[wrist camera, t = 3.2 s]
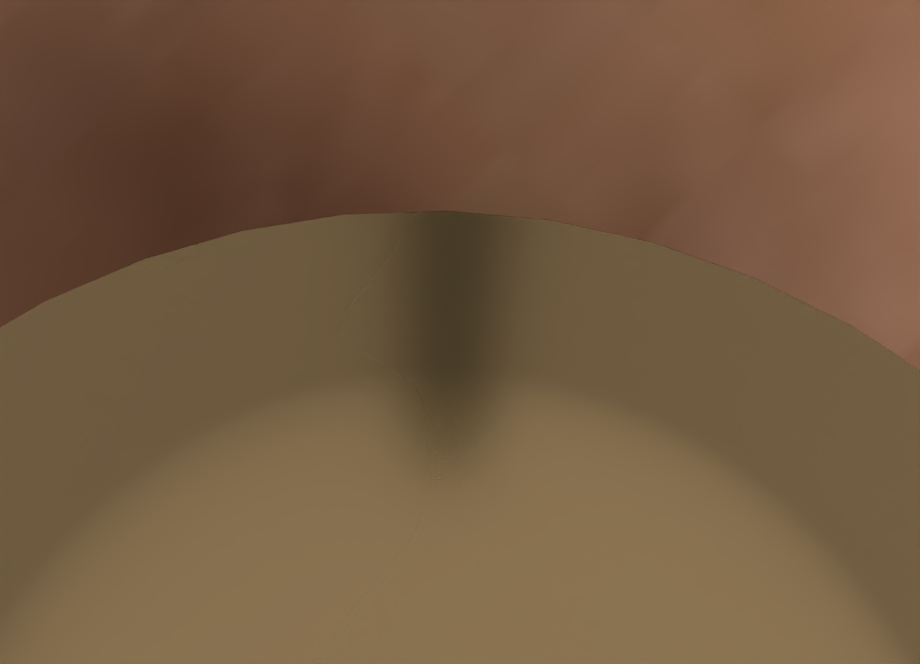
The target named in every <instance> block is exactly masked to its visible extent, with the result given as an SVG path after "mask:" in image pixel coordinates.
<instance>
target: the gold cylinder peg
mask: <svg viewBox="0 0 920 664" xmlns="http://www.w3.org/2000/svg"><path fill="white" fill-rule="evenodd" d="M0 664H920V370H919V369H918V368H916V367H915V366H913V365H911V364H910V363H908V362H907V361H905V360H904V359H902V358H901V357H899V356H898V355H896V354H894V353H893V352H891V351H890V350H888V349H887V348H885V347H884V346H882V345H881V344H879V343H878V342H876V341H874V340H873V339H871V338H870V337H868V336H867V335H865V334H864V333H862V332H861V331H859V330H857V329H856V328H854V327H853V326H851V325H849V324H847V323H845V322H843V321H841V320H839V319H837V318H835V317H833V316H831V315H829V314H826V313H824V312H822V311H820V310H818V309H816V308H814V307H812V306H810V305H808V304H806V303H804V302H802V301H800V300H798V299H796V298H794V297H792V296H790V295H788V294H786V293H784V292H782V291H780V290H778V289H776V288H774V287H772V286H769V285H767V284H765V283H763V282H761V281H759V280H757V279H755V278H753V277H750V276H747V275H744V274H742V273H739V272H736V271H733V270H730V269H727V268H724V267H722V266H719V265H716V264H713V263H710V262H707V261H704V260H701V259H699V258H696V257H693V256H690V255H687V254H684V253H681V252H679V251H676V250H673V249H670V248H667V247H664V246H661V245H658V244H656V243H653V242H649V241H644V240H639V239H635V238H630V237H625V236H621V235H616V234H611V233H607V232H602V231H598V230H593V229H588V228H584V227H579V226H574V225H570V224H565V223H561V222H556V221H551V220H543V219H531V218H520V217H509V216H498V215H487V214H475V213H464V212H453V211H430V212H402V213H374V214H346V215H338V216H332V217H326V218H319V219H313V220H307V221H301V222H294V223H288V224H282V225H276V226H270V227H263V228H257V229H251V230H245V231H240V232H237V233H233V234H230V235H226V236H223V237H219V238H216V239H212V240H209V241H206V242H202V243H199V244H195V245H192V246H188V247H185V248H181V249H178V250H175V251H171V252H168V253H164V254H161V255H157V256H154V257H150V258H147V259H143V260H141V261H138V262H136V263H134V264H131V265H129V266H127V267H124V268H122V269H120V270H117V271H115V272H113V273H110V274H108V275H106V276H103V277H101V278H99V279H96V280H94V281H91V282H89V283H87V284H84V285H82V286H80V287H77V288H75V289H73V290H70V291H68V292H66V293H63V294H61V295H59V296H56V297H54V298H52V299H49V300H47V301H45V302H43V303H41V304H39V305H38V306H36V307H34V308H33V309H31V310H29V311H27V312H26V313H24V314H22V315H20V316H19V317H17V318H15V319H13V320H12V321H10V322H8V323H6V324H5V325H3V326H1V327H0Z"/></svg>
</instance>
